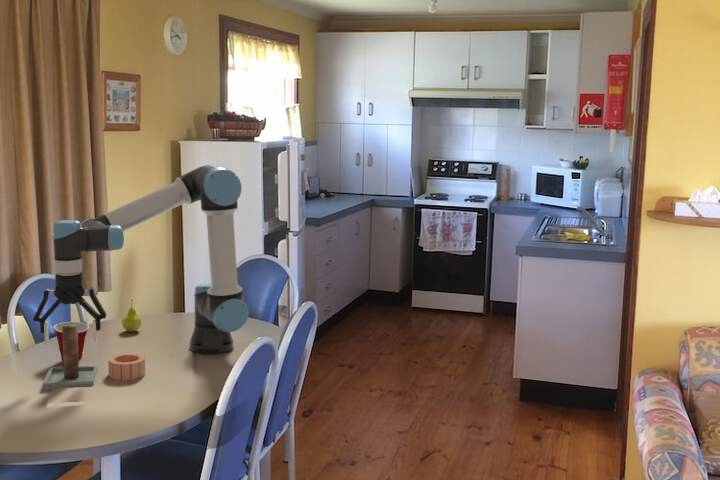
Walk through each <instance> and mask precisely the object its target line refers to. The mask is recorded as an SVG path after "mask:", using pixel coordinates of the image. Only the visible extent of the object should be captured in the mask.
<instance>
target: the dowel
mask: <svg viewBox="0 0 720 480" xmlns="http://www.w3.org/2000/svg"><path fill="white" fill-rule="evenodd" d="M62 332H63V360H64V363H63V367H64V379H67V380H73V379H77V378H79V365H80V363H79V360H80V359H78V327H77V325H76V324H67V325H64V326H62Z"/></svg>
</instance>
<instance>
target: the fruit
mask: <svg viewBox="0 0 720 480" xmlns="http://www.w3.org/2000/svg"><path fill="white" fill-rule="evenodd" d="M131 301H133V299H131ZM121 324H122V327H123V329H124V330H126V331H127V332H129V333H133V332H136V331H138V330H139V329H140V327H141V325H142V317H141V316H140V315H138V314H137V312H136V309H135V308H134V307H133V304H131V307H130V308H128V311H127V313H126V315H125V316H123V318H122V319H121Z"/></svg>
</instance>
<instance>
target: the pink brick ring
mask: <svg viewBox="0 0 720 480" xmlns="http://www.w3.org/2000/svg"><path fill="white" fill-rule="evenodd" d="M107 362H108V378H110V379H112V380H115V381H130V380H131V381H132V380H137V379H140V378H142V377H144V376H145V375H146V356H145V355H143V354H141V353H135V352H125V353H119V354H114V355H112V356H110V357H109V358H108V361H107Z"/></svg>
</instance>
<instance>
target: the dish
mask: <svg viewBox="0 0 720 480" xmlns="http://www.w3.org/2000/svg"><path fill="white" fill-rule="evenodd" d="M98 372H99V365H97V364H96V365H81V366H79V378H77V379H73V380H67V379H64V366H57V367H49V369H48V371H47V373H46V375H45V377H44V380H43V381H42V391H47V392H48V391H53V389H54V388H63V387H81V386H94V385H95V383H96V382H95V381H96V378H97V374H98Z"/></svg>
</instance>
